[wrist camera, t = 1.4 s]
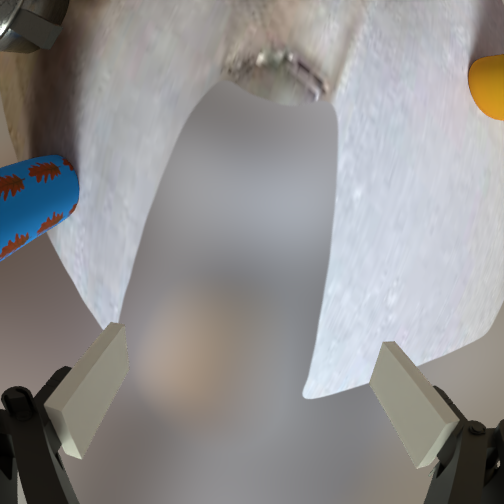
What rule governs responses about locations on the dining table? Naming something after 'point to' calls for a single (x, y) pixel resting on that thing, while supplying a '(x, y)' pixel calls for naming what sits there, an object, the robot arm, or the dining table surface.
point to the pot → (30, 24)
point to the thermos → (34, 199)
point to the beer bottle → (488, 85)
